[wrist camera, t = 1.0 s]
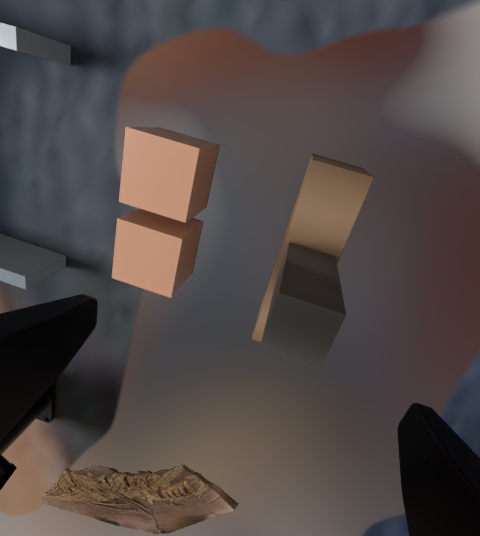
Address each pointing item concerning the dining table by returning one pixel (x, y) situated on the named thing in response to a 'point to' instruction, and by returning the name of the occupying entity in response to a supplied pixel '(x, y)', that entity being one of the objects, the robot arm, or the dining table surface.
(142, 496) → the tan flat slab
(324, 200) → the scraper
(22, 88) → the dining table surface
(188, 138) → the block
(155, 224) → the block
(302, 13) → the dining table surface
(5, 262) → the box
